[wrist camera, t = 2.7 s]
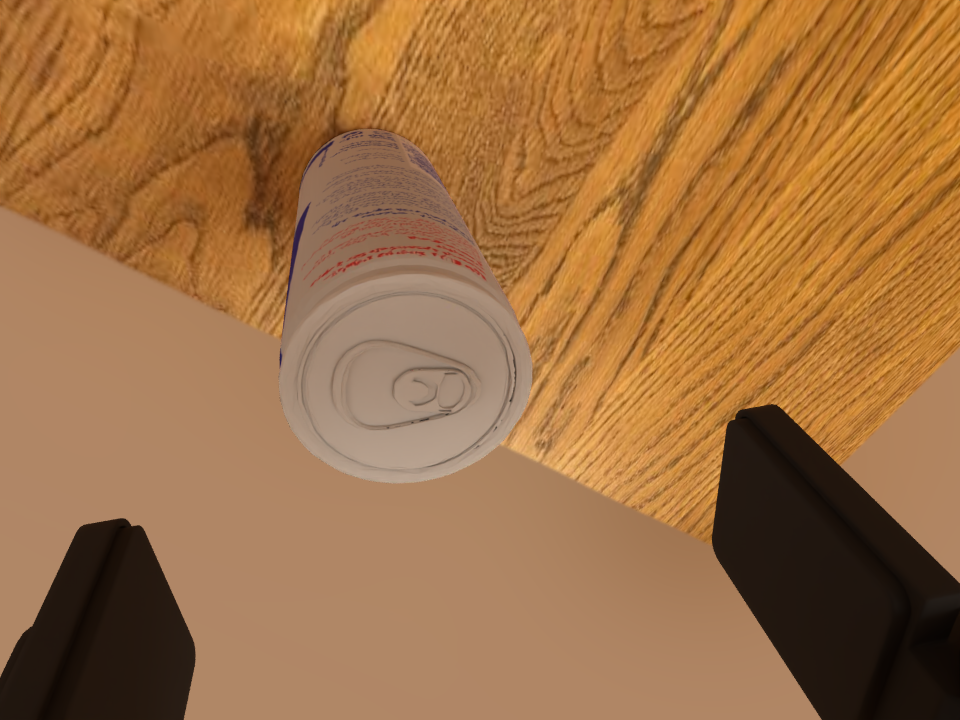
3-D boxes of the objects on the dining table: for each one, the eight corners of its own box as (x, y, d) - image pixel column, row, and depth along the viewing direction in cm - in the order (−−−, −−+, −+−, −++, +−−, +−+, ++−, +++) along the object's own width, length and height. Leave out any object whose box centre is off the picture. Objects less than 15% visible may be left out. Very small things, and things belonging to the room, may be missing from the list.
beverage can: (270, 172, 26) (216, 360, 13) (394, 98, 26) (462, 217, 13) (350, 286, 29) (369, 529, 16) (463, 221, 29) (573, 418, 16)
